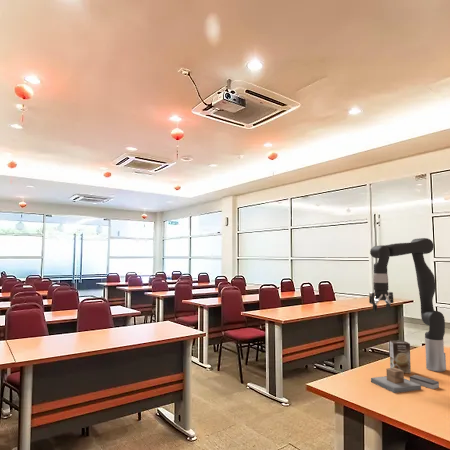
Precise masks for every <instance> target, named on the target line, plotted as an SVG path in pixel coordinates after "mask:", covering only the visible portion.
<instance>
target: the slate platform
mask: <svg viewBox="0 0 450 450" xmlns="http://www.w3.org/2000/svg"><path fill="white" fill-rule="evenodd" d="M370 382H371V383H372V384H375V385H377V386H379V387H380V388H382V389H385V390H387V391H389V392H391V393H393V394H396V393H397V394H398V393H404V392H405V393H406V392H413V391H421V390H422V386H421V385H419V384H417V383H414V382H412V381H410V379H407V378H405V377H404V383H396V384H395V383H392V382H390V381H388V380H387V375H386V376H384V375H383V376H376V377H371V378H370Z"/></svg>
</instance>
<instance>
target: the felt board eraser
mask: <svg viewBox="0 0 450 450" xmlns="http://www.w3.org/2000/svg"><path fill="white" fill-rule="evenodd" d="M409 381H412V382H414V383H417V384H419V385H421V387H425V388H428V389H430V390H436V389H438V388H440V386H439V385H440V382H439V381H438V380H434V379H432V378H427V377H425V376H420V375H417V374H414V375H409Z"/></svg>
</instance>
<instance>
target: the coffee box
mask: <svg viewBox="0 0 450 450" xmlns="http://www.w3.org/2000/svg"><path fill="white" fill-rule="evenodd" d="M389 368H397V369H400V370H402V371H404V374H411V372H412V370H411V369H412V368H411V344H410V343H409V342H407V341H405V340H404V341H403V340H401V341H400V340H389Z"/></svg>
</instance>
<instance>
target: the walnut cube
mask: <svg viewBox="0 0 450 450" xmlns="http://www.w3.org/2000/svg"><path fill="white" fill-rule="evenodd" d="M404 375H405V373H404V371H402V370H400V369H397V368H390V367H389V368H386V376H387V380H388V381H390V382H392V383H395V384H396V383H404V378H405V377H404Z"/></svg>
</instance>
